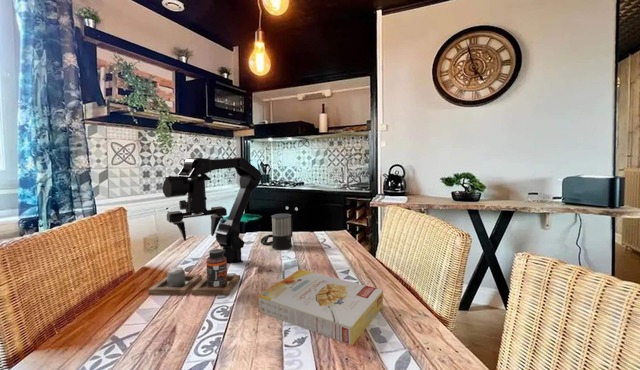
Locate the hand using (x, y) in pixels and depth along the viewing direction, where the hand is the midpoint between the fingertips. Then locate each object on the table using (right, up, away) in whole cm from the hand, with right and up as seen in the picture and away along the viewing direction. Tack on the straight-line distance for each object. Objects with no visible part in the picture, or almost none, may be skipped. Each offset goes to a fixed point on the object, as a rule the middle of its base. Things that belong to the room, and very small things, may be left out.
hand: (199, 238), depth 102 cm
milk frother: (+22, -10, +34) cm, 41 cm away
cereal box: (+43, -16, -24) cm, 52 cm away
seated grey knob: (-2, -13, -11) cm, 17 cm away
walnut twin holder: (+4, -14, -11) cm, 18 cm away
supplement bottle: (+11, -13, -11) cm, 20 cm away
